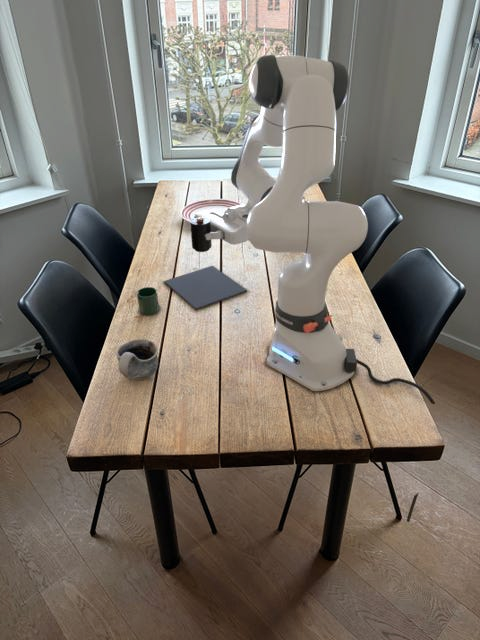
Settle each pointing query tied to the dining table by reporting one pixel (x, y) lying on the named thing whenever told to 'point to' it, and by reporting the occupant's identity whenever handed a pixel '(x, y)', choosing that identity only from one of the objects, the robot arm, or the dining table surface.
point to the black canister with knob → (200, 234)
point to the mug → (138, 359)
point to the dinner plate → (207, 207)
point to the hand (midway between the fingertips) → (198, 233)
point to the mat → (204, 287)
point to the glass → (148, 301)
